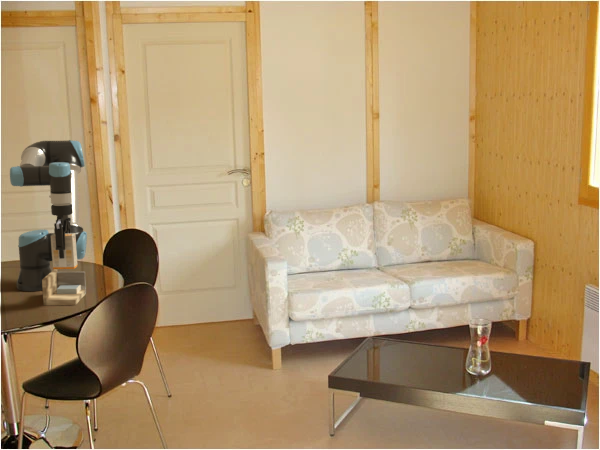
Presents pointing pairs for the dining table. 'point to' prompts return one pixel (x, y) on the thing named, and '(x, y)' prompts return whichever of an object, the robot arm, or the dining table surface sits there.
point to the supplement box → (70, 251)
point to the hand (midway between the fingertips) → (65, 264)
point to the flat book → (68, 289)
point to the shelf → (62, 278)
